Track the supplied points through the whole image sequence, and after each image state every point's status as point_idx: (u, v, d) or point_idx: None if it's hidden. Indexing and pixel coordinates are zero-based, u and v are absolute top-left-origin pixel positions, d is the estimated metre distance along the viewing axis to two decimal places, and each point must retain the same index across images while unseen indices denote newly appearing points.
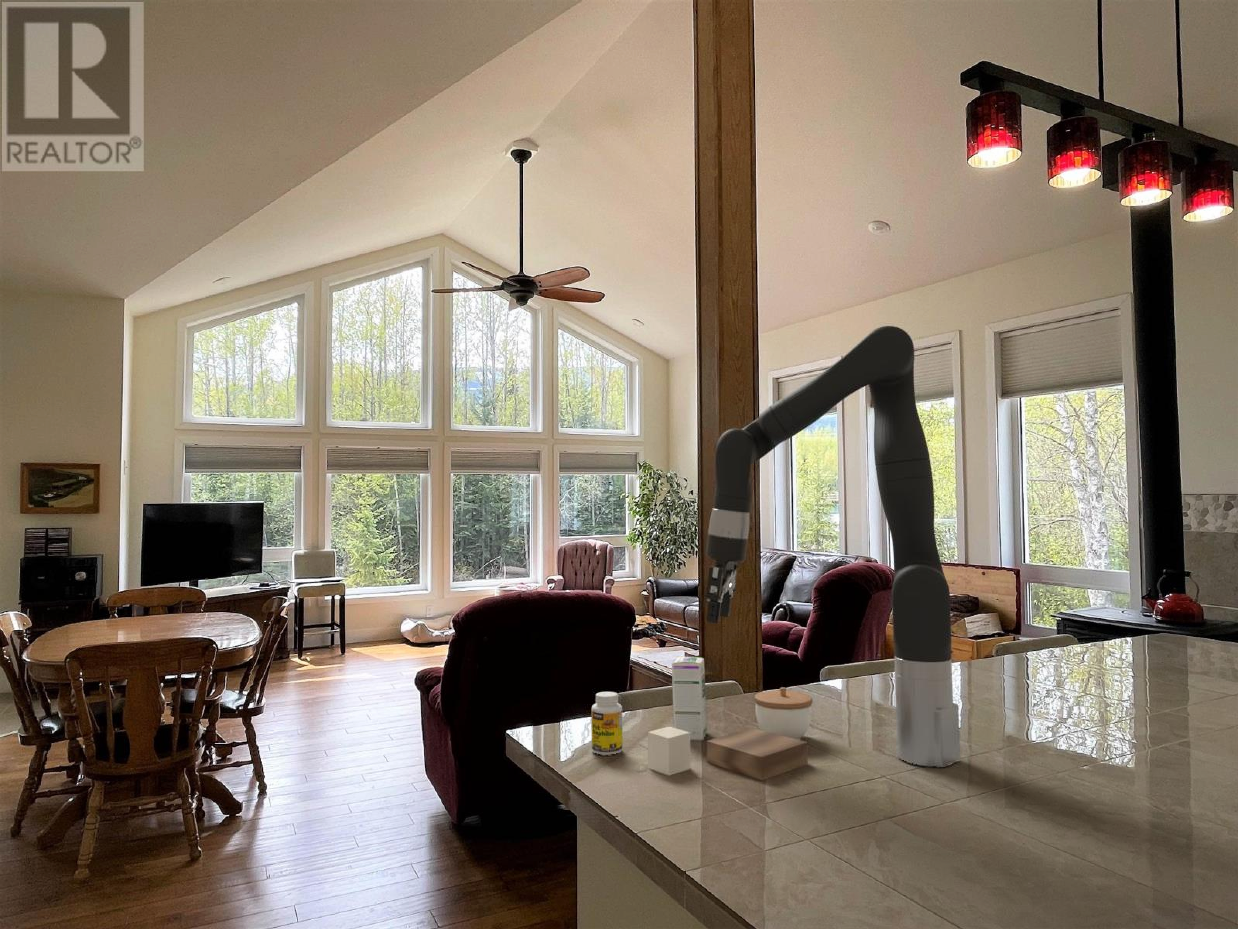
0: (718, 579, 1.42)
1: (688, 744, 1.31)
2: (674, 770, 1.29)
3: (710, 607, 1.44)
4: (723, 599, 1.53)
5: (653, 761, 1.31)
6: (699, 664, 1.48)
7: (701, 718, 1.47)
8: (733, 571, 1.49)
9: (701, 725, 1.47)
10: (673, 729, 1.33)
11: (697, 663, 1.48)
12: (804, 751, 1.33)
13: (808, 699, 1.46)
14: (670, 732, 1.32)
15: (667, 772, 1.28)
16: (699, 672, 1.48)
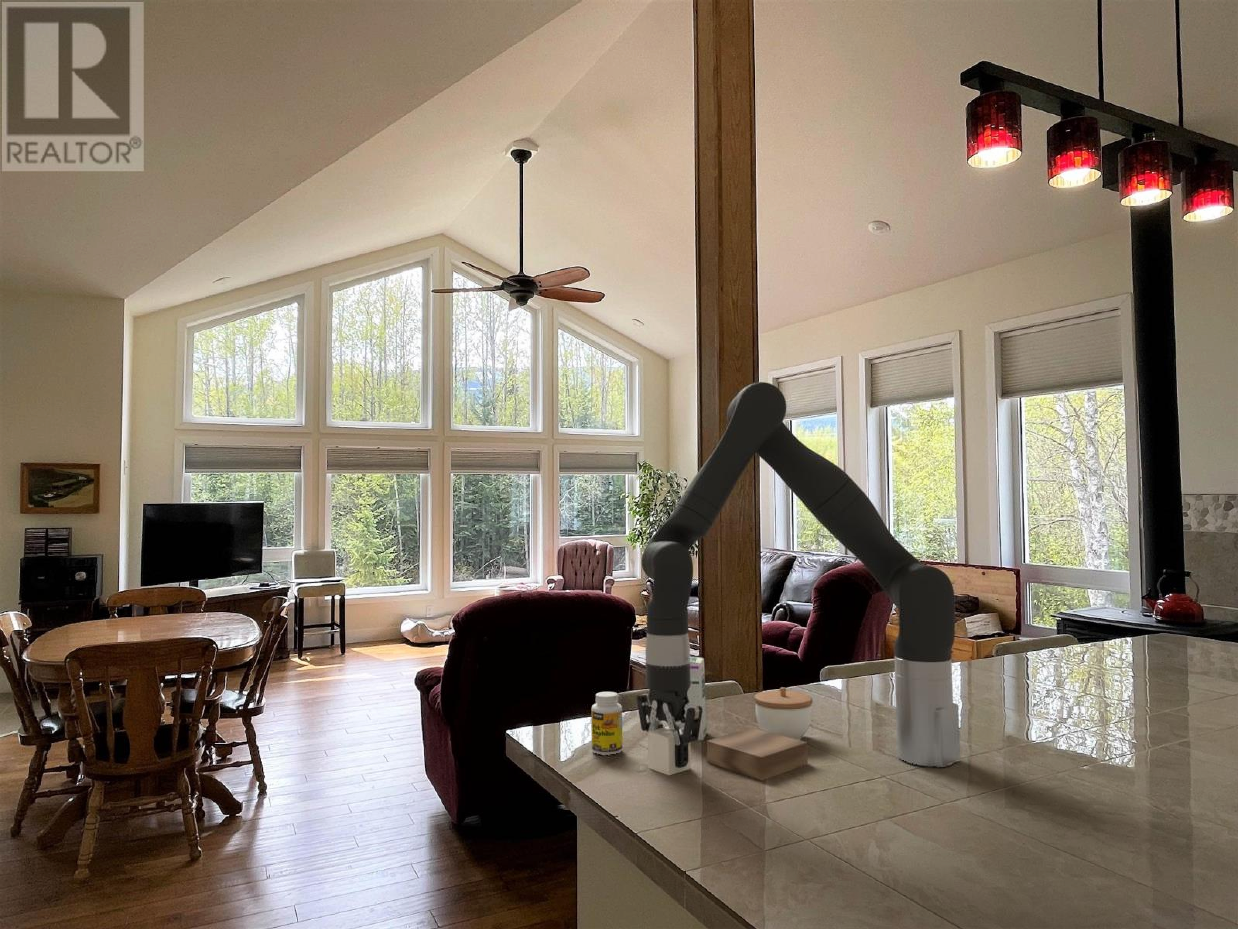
0: (699, 720, 1.28)
1: (688, 744, 1.31)
2: (674, 770, 1.29)
3: (683, 751, 1.28)
4: None
5: (653, 761, 1.31)
6: (699, 664, 1.48)
7: (701, 718, 1.47)
8: None
9: (701, 725, 1.47)
10: None
11: (697, 663, 1.48)
12: (804, 752, 1.33)
13: (808, 699, 1.46)
14: (670, 732, 1.31)
15: (667, 772, 1.28)
16: (699, 672, 1.48)
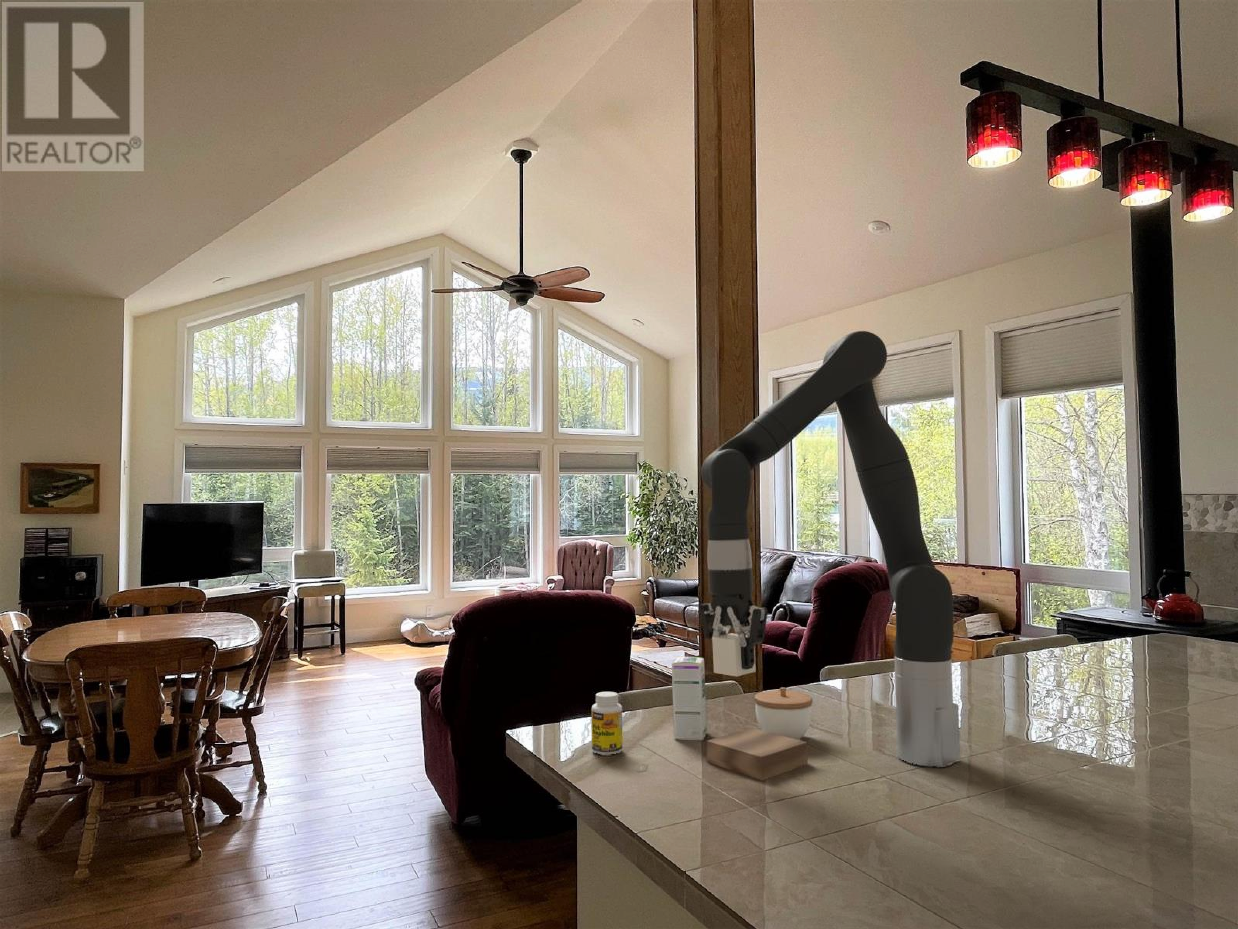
0: (764, 621, 1.30)
1: None
2: (741, 671, 1.31)
3: (749, 652, 1.31)
4: None
5: (718, 665, 1.33)
6: (699, 664, 1.48)
7: (701, 718, 1.47)
8: None
9: (701, 725, 1.47)
10: (736, 634, 1.36)
11: (697, 663, 1.48)
12: (804, 752, 1.33)
13: (808, 699, 1.46)
14: (734, 636, 1.34)
15: (734, 673, 1.30)
16: (699, 672, 1.48)
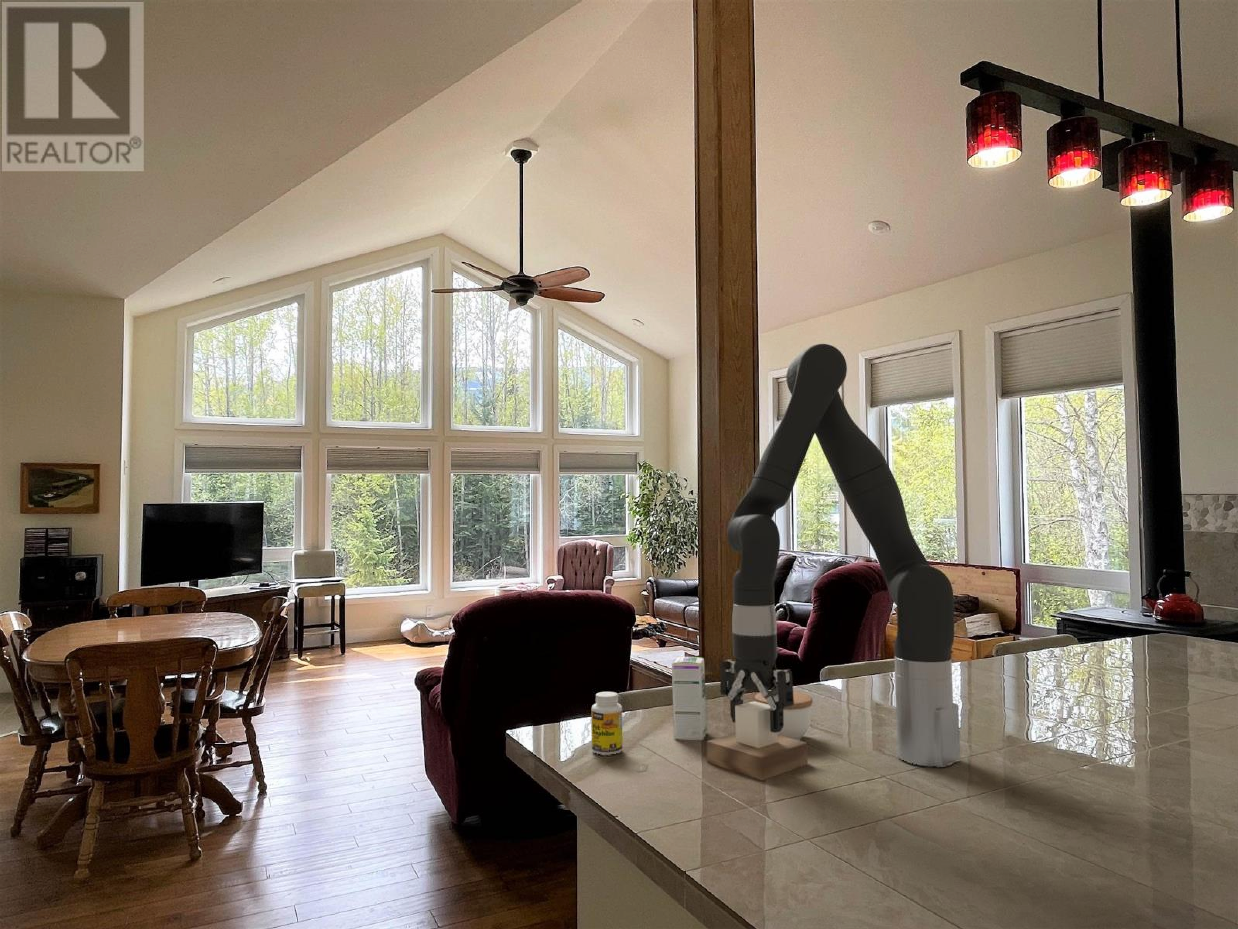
0: (790, 683, 1.30)
1: None
2: (763, 743, 1.31)
3: (779, 716, 1.30)
4: (738, 703, 1.37)
5: (741, 734, 1.33)
6: (699, 664, 1.48)
7: (701, 718, 1.47)
8: None
9: (701, 725, 1.47)
10: (759, 703, 1.36)
11: (697, 663, 1.48)
12: (804, 752, 1.33)
13: (808, 699, 1.46)
14: (757, 706, 1.34)
15: (756, 744, 1.31)
16: (699, 672, 1.48)
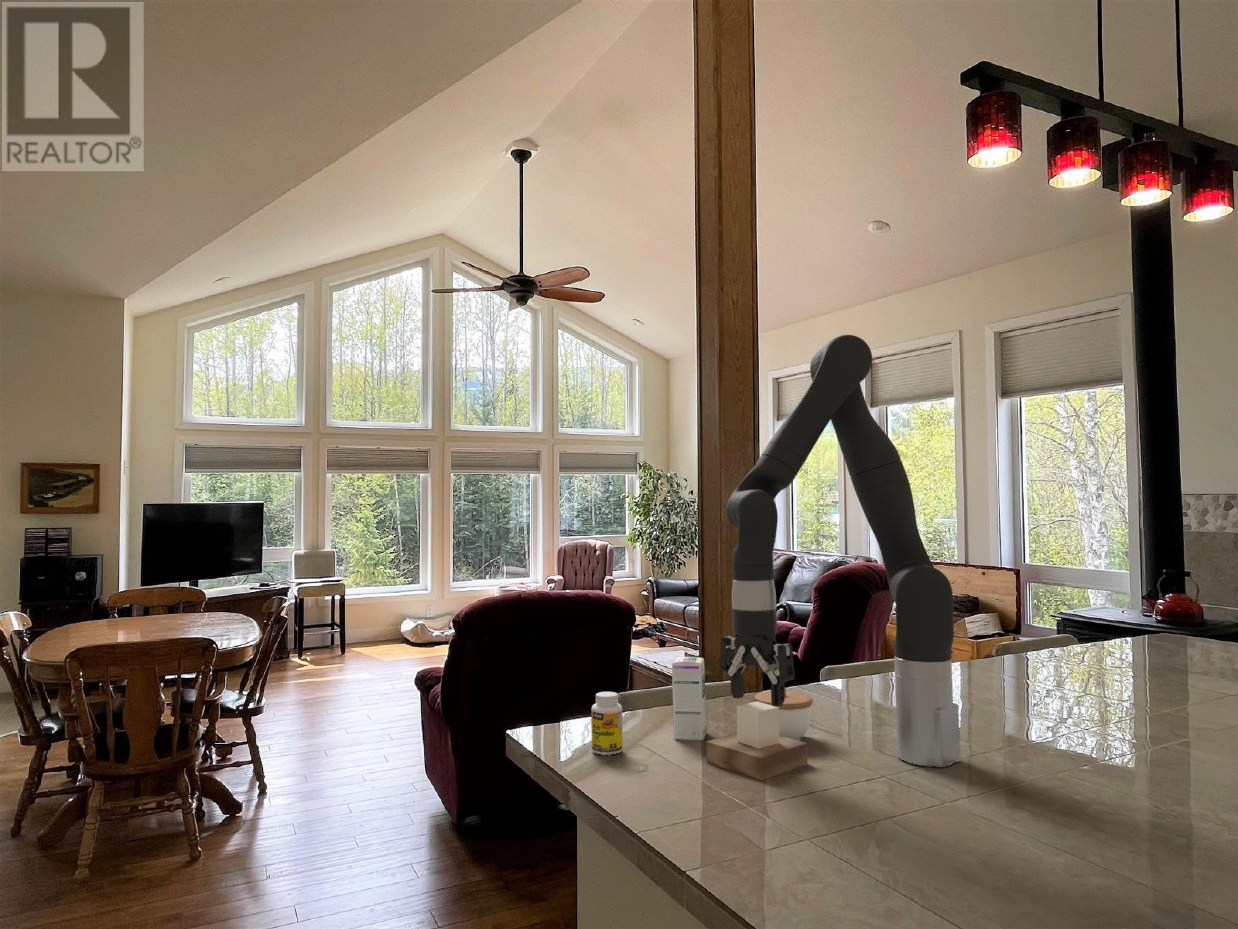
0: (791, 656, 1.30)
1: (776, 719, 1.33)
2: (763, 743, 1.31)
3: (780, 690, 1.30)
4: (738, 679, 1.37)
5: (742, 734, 1.33)
6: (699, 664, 1.48)
7: (701, 718, 1.47)
8: None
9: (701, 725, 1.47)
10: (761, 704, 1.36)
11: (697, 663, 1.48)
12: (804, 752, 1.33)
13: (808, 699, 1.46)
14: (759, 707, 1.34)
15: (756, 745, 1.31)
16: (699, 672, 1.48)
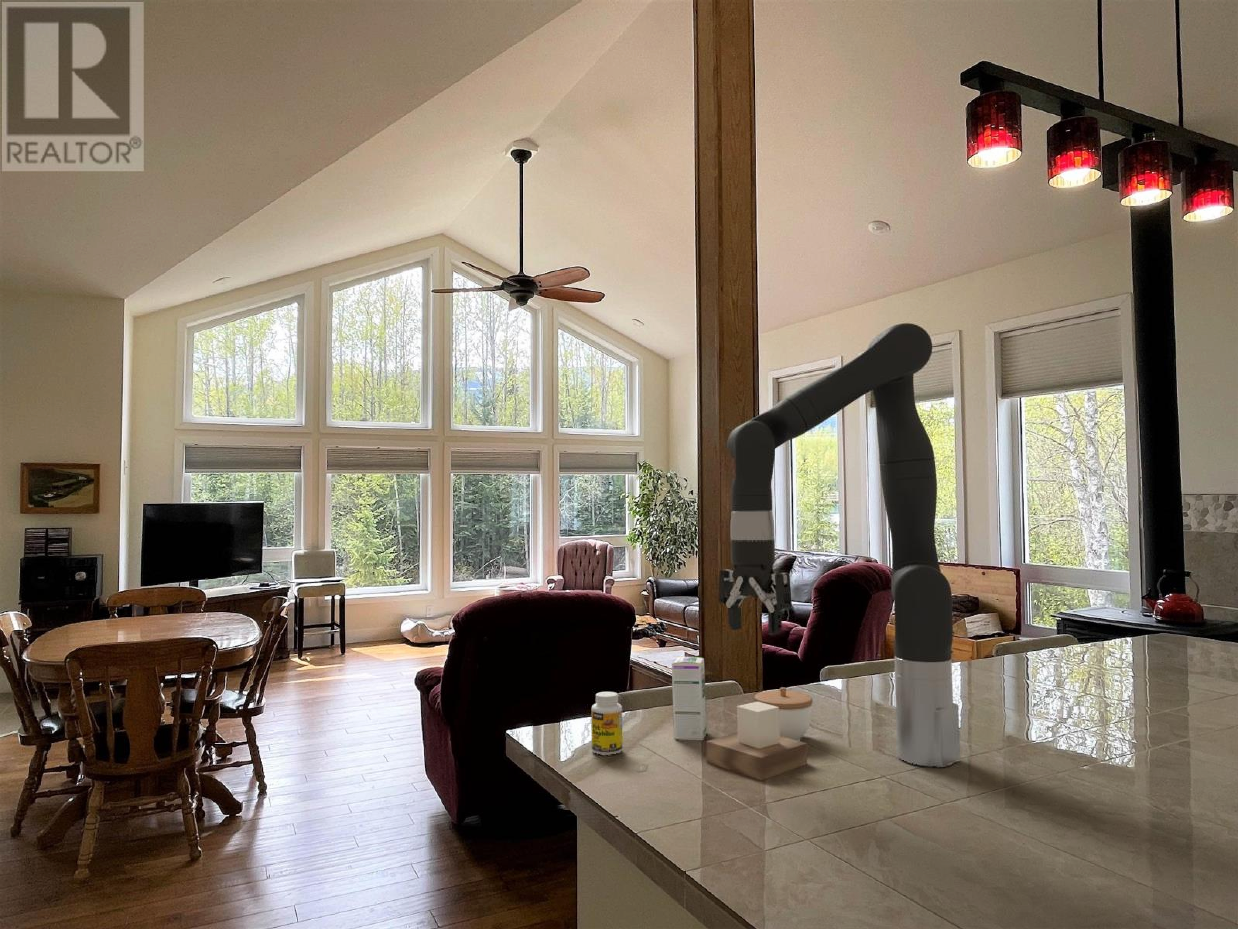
0: (788, 585, 1.31)
1: (777, 719, 1.33)
2: (763, 743, 1.31)
3: (777, 618, 1.31)
4: (736, 610, 1.38)
5: (742, 735, 1.33)
6: (699, 664, 1.48)
7: (701, 718, 1.47)
8: None
9: (701, 725, 1.47)
10: (762, 704, 1.36)
11: (697, 663, 1.48)
12: (803, 752, 1.33)
13: (808, 699, 1.46)
14: (759, 707, 1.34)
15: (757, 745, 1.31)
16: (699, 672, 1.48)
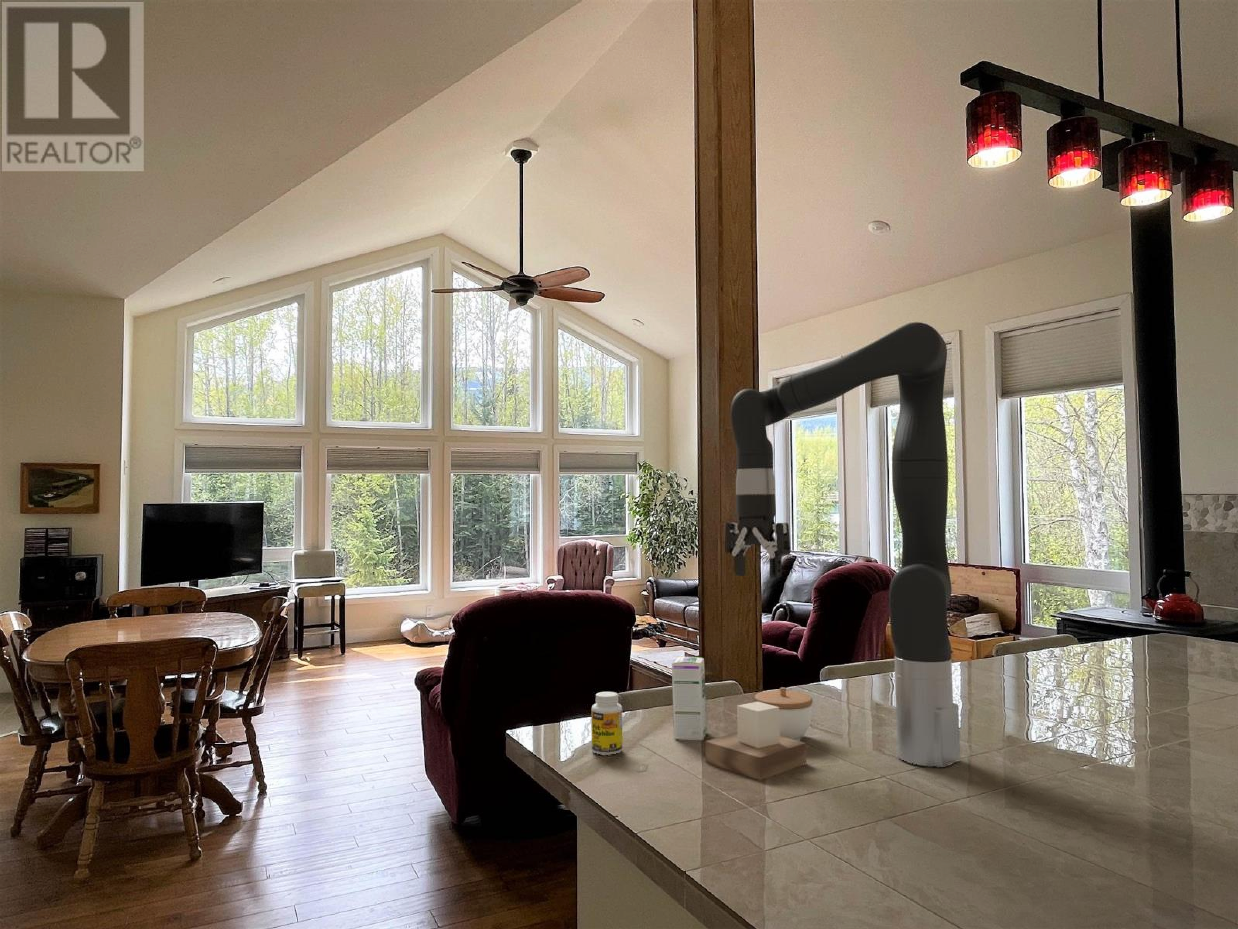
0: (787, 534, 1.47)
1: (777, 719, 1.33)
2: (763, 743, 1.31)
3: (777, 563, 1.47)
4: (740, 558, 1.55)
5: (742, 734, 1.34)
6: (699, 664, 1.48)
7: (701, 718, 1.47)
8: None
9: (701, 725, 1.47)
10: (762, 704, 1.36)
11: (697, 663, 1.48)
12: (803, 752, 1.33)
13: (808, 699, 1.46)
14: (759, 707, 1.34)
15: (756, 744, 1.31)
16: (699, 672, 1.48)
